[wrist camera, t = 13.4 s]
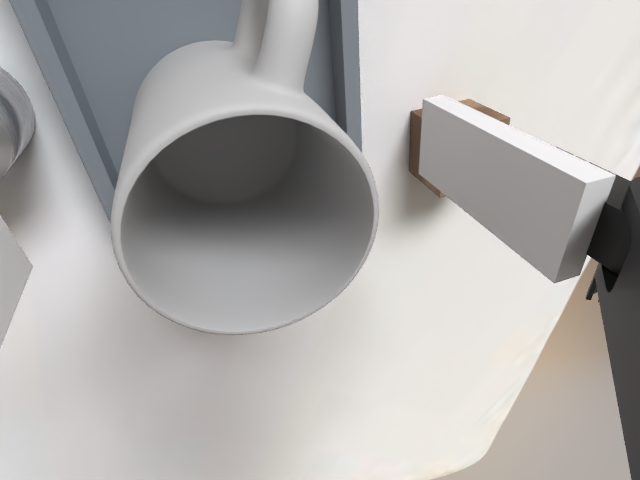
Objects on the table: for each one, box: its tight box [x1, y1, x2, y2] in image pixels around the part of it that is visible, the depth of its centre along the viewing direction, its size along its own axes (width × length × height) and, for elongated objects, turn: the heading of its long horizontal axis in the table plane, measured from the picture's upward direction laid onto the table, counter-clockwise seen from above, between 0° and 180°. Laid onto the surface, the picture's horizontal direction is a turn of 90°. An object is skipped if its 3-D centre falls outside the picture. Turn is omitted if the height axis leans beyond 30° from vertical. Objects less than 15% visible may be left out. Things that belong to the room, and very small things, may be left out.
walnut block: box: [409, 99, 510, 198], centre depth 25 cm, size 4×4×4 cm
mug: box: [111, 0, 379, 335], centre depth 17 cm, size 12×8×11 cm
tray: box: [9, 0, 362, 224], centre depth 20 cm, size 14×17×2 cm
